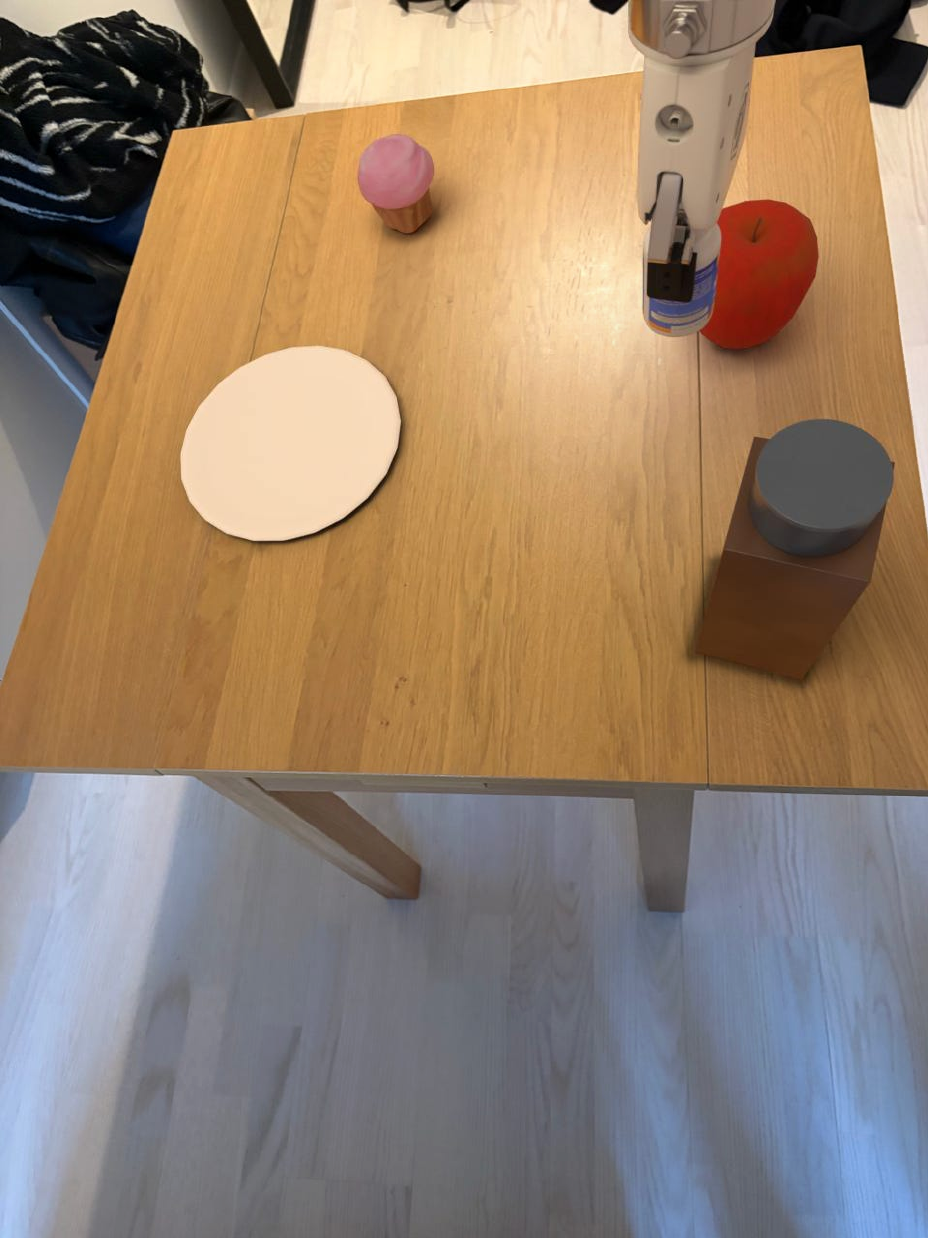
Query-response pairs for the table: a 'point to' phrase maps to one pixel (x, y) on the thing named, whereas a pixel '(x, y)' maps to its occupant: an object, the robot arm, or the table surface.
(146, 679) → the table surface
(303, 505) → the plate
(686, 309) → the pill bottle
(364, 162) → the cupcake
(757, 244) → the apple
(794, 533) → the tin
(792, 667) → the stand
